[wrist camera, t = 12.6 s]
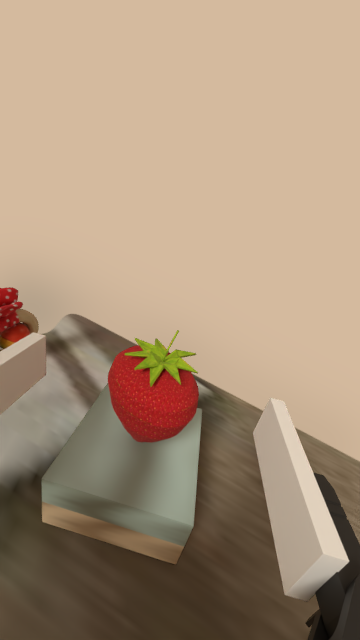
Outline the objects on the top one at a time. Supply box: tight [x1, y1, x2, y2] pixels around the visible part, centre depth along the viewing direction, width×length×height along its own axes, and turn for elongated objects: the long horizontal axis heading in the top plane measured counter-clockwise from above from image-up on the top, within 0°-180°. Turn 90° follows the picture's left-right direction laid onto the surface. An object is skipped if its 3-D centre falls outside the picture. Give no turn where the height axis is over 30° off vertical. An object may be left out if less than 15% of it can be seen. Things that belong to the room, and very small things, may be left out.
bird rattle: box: [0, 288, 38, 351], centre depth 28 cm, size 6×11×9 cm
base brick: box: [42, 384, 202, 565], centre depth 20 cm, size 10×10×5 cm
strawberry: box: [108, 330, 199, 443], centre depth 17 cm, size 6×8×10 cm
